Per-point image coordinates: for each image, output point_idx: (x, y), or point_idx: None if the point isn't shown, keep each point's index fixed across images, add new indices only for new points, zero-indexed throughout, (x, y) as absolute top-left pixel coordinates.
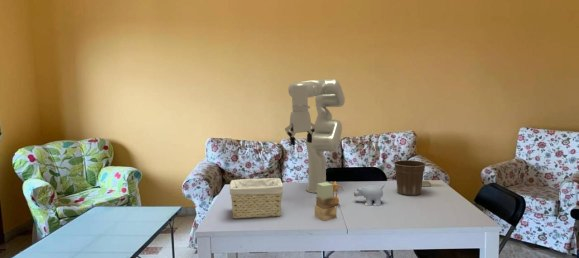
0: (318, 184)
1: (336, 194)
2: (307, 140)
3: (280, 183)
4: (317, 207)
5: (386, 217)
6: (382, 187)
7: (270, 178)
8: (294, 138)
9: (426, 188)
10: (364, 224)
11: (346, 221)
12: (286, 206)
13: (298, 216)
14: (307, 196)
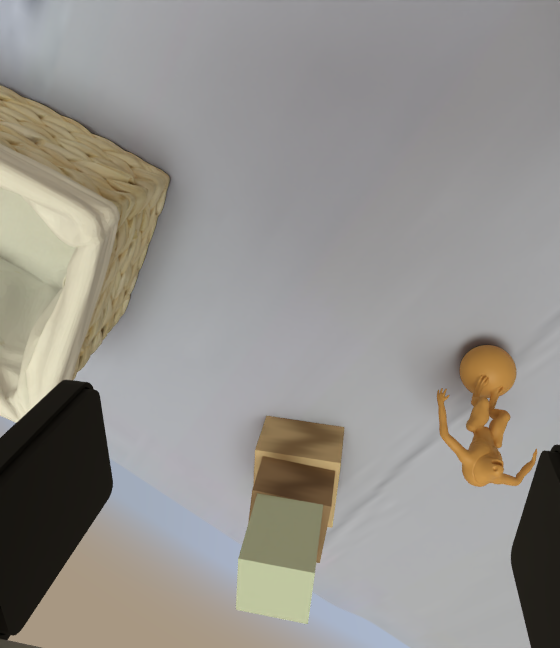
0: (238, 570)
1: (489, 415)
2: (551, 482)
3: (43, 376)
4: (254, 471)
5: (509, 607)
6: None
7: (17, 192)
8: (18, 615)
9: None
10: (371, 592)
11: (337, 537)
12: (221, 202)
13: (197, 373)
14: (480, 93)
